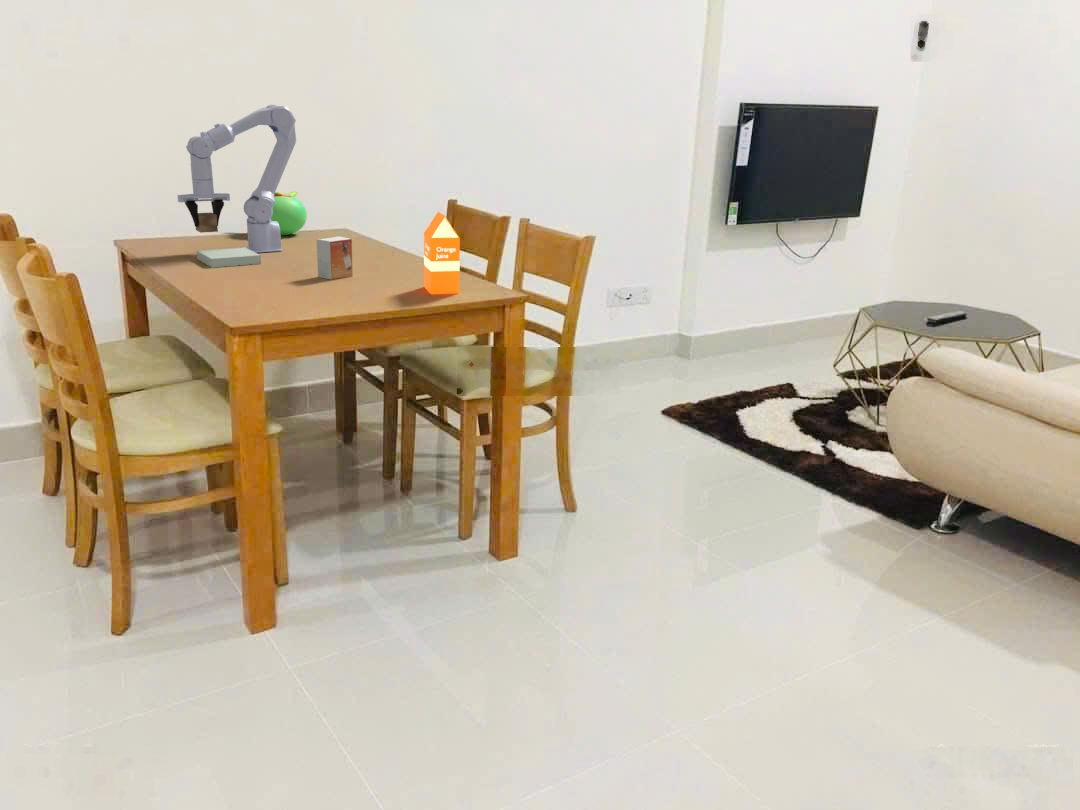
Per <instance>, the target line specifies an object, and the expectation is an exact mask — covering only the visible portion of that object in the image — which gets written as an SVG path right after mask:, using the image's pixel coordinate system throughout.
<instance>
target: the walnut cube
mask: <svg viewBox="0 0 1080 810" xmlns="http://www.w3.org/2000/svg"><path fill="white" fill-rule="evenodd" d="M198 221H199V227H196V226H195V230H196V231H197V232H199V233H201V234H202V233H218V232H219V230H218V228H219V226H217V215H216V214H214V213H213V211H212V212H211V211H210V212H198Z"/></svg>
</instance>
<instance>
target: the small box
mask: <svg viewBox="0 0 1080 810" xmlns="http://www.w3.org/2000/svg"><path fill="white" fill-rule="evenodd" d="M352 240H353V239H352V238H349V237H344V236H340V235H339V236H332V237H326V238H317V239H316V260H317V261H316V262H317V277H318V278H321V279H326V280H329V281H331V280H332V281H333V280H335V279H343V278H350V277H353V276H354V275H353V241H352Z"/></svg>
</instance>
